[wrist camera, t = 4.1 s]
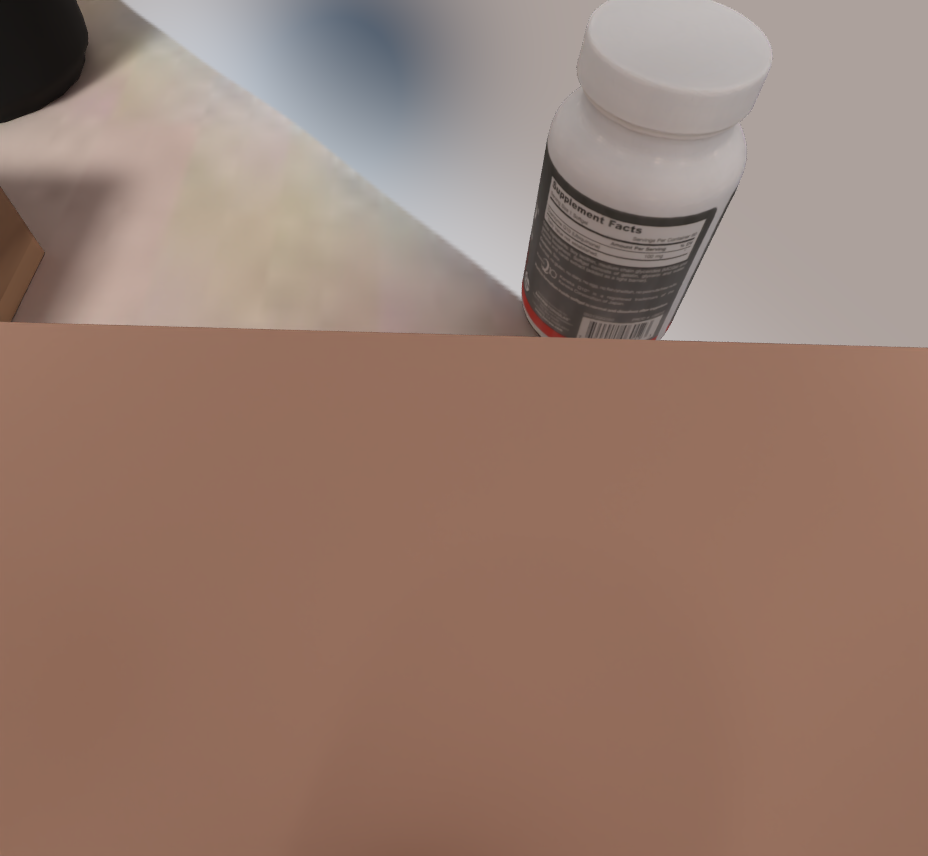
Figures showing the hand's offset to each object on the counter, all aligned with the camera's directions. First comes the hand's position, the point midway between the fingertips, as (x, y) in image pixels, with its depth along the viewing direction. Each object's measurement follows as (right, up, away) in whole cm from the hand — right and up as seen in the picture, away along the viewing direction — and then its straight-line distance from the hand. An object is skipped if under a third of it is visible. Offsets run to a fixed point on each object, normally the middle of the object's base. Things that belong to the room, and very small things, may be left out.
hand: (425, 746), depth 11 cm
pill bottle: (+6, +10, +13) cm, 17 cm away
